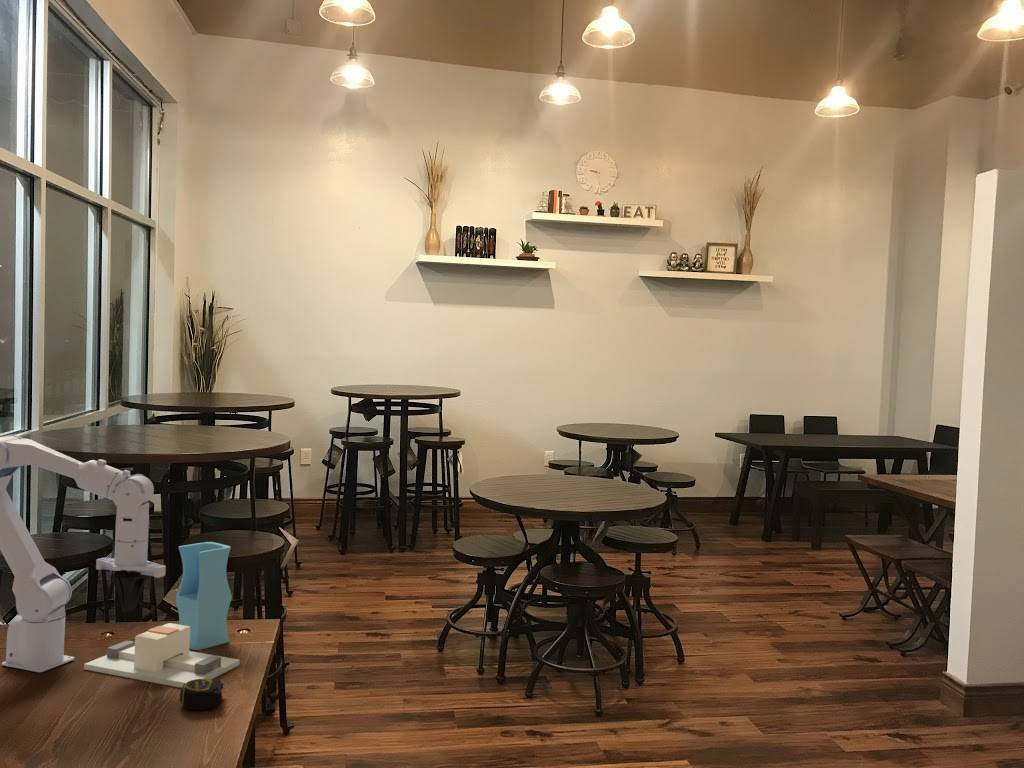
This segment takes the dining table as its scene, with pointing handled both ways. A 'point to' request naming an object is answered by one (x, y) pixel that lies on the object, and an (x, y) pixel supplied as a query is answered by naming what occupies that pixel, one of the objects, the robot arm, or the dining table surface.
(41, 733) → the dining table surface
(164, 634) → the block
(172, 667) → the rail board
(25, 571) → the robot arm
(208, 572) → the vase
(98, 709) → the dining table surface
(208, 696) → the tape measure
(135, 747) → the dining table surface
